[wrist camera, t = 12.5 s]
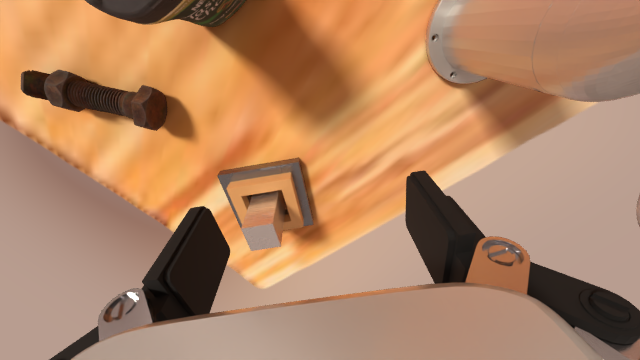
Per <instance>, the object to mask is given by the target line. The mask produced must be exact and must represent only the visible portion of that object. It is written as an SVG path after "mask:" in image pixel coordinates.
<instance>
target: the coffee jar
mask: <svg viewBox="0 0 640 360" xmlns="http://www.w3.org/2000/svg"><path fill="white" fill-rule="evenodd" d="M85 1H86V2H88V3H89V4H90V5H92V6H94V7H95V8H97V9H99V10H101V11H103V12H105V13H107V14H109V15H111V16H114V17H117V18H120V19H123V20H127V21H131V22H135V23H139V24H145V25H150V24H157V23H161V22H165V21H170V20H175V19H180V20H185V21H189V22H192V23H195V24H198V25H201V26H207V27H215V26H218V25H220V24H222V23H223V22H225V21H226V20H227V19H229V18H230V17H231V16H232V15H233V14H234V13H235V12H236V11H237V10H238V9H239V8H240V7H241V6H242V5H243V4H244V3H245V1H246V0H85Z"/></svg>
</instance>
